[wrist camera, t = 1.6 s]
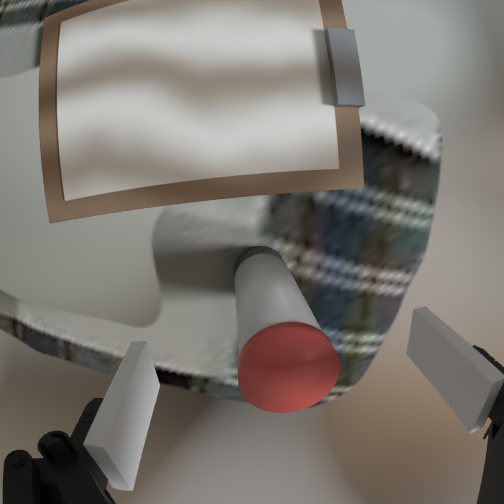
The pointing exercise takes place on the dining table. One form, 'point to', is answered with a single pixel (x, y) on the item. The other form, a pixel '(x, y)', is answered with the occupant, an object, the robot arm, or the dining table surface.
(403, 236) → the dining table surface
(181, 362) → the dining table surface
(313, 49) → the clipboard
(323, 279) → the dining table surface
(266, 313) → the marker
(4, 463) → the robot arm
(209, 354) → the dining table surface
